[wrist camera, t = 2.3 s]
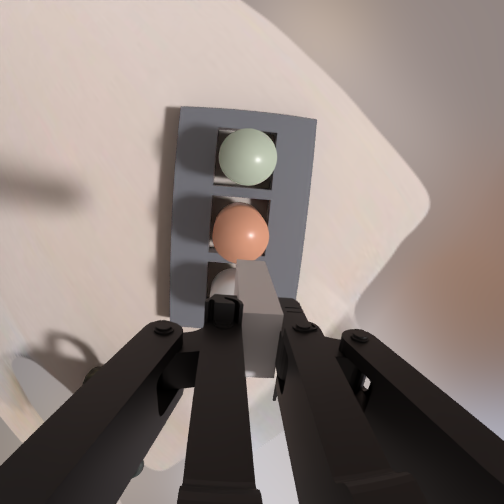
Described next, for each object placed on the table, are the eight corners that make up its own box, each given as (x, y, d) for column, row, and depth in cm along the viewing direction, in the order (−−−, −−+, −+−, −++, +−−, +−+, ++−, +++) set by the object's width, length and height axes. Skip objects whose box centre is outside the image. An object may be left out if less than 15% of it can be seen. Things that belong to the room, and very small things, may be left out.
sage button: (218, 180, 32) (216, 183, 27) (222, 132, 31) (221, 126, 26) (267, 185, 33) (274, 188, 28) (272, 136, 31) (279, 131, 26)
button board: (172, 317, 38) (170, 325, 36) (183, 109, 32) (180, 106, 30) (287, 324, 39) (290, 332, 37) (312, 121, 33) (316, 119, 31)
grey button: (209, 309, 36) (207, 330, 31) (211, 266, 34) (209, 282, 30) (254, 311, 36) (258, 333, 31) (258, 269, 35) (263, 286, 30)
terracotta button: (213, 248, 34) (210, 261, 29) (216, 200, 33) (214, 206, 28) (260, 251, 34) (266, 265, 29) (265, 204, 33) (271, 210, 28)
